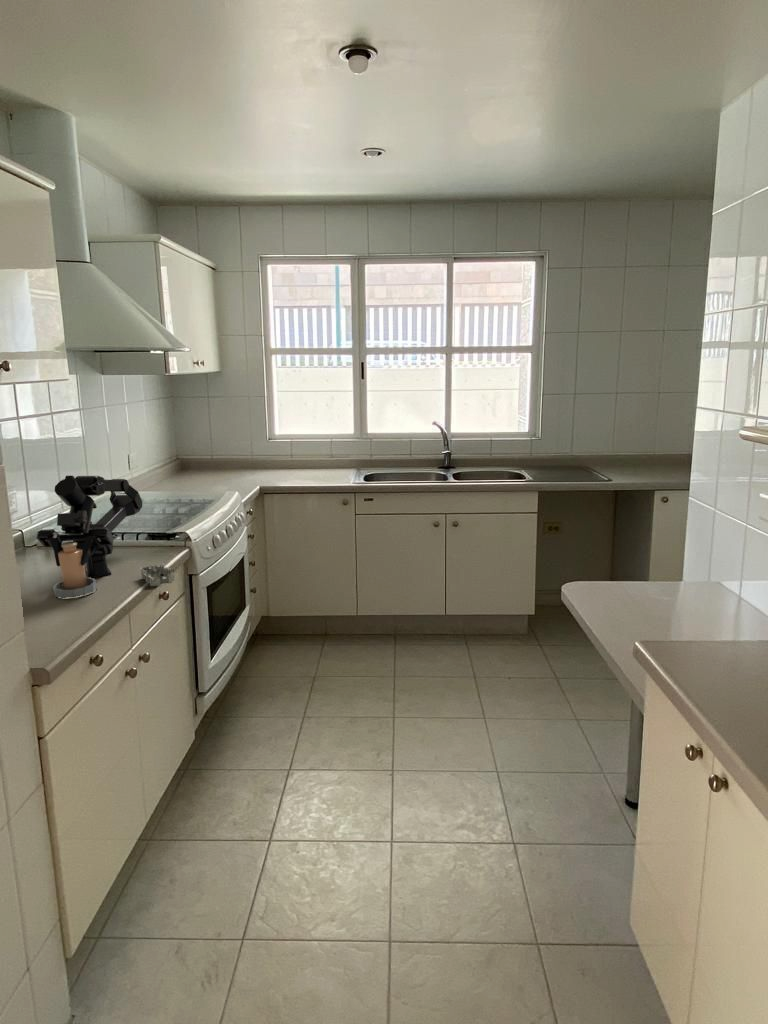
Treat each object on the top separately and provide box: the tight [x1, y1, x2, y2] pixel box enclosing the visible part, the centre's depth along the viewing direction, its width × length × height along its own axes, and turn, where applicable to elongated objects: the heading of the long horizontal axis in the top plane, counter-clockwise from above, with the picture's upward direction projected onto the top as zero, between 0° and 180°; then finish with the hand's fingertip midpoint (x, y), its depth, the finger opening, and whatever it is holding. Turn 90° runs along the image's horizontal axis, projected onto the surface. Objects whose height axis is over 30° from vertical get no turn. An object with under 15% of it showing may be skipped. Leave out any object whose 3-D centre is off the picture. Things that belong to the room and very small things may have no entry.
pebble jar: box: [58, 541, 87, 590], centre depth 181 cm, size 6×6×12 cm
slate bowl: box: [52, 576, 98, 598], centre depth 183 cm, size 10×10×2 cm
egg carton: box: [139, 564, 175, 587], centre depth 191 cm, size 11×8×4 cm
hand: (70, 565), depth 180 cm, fingers closed on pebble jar, 6 cm apart
